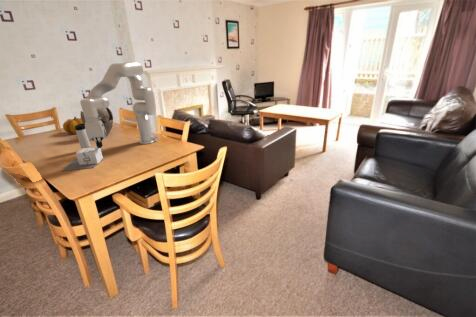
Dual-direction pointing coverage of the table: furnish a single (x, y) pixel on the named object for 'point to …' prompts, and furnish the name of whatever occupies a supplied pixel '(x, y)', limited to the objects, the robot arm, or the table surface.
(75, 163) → the rubber mat
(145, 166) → the table surface
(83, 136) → the travel mug
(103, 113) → the clay pot
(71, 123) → the decorative pumpkin
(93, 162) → the ink box
